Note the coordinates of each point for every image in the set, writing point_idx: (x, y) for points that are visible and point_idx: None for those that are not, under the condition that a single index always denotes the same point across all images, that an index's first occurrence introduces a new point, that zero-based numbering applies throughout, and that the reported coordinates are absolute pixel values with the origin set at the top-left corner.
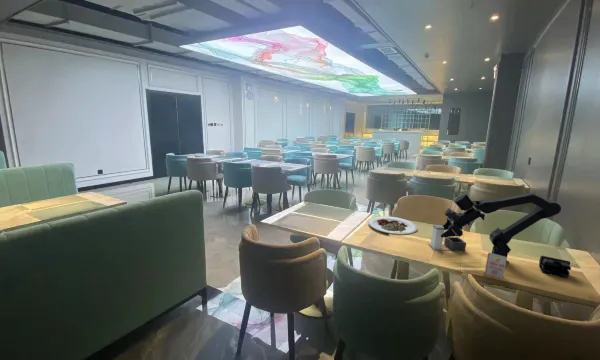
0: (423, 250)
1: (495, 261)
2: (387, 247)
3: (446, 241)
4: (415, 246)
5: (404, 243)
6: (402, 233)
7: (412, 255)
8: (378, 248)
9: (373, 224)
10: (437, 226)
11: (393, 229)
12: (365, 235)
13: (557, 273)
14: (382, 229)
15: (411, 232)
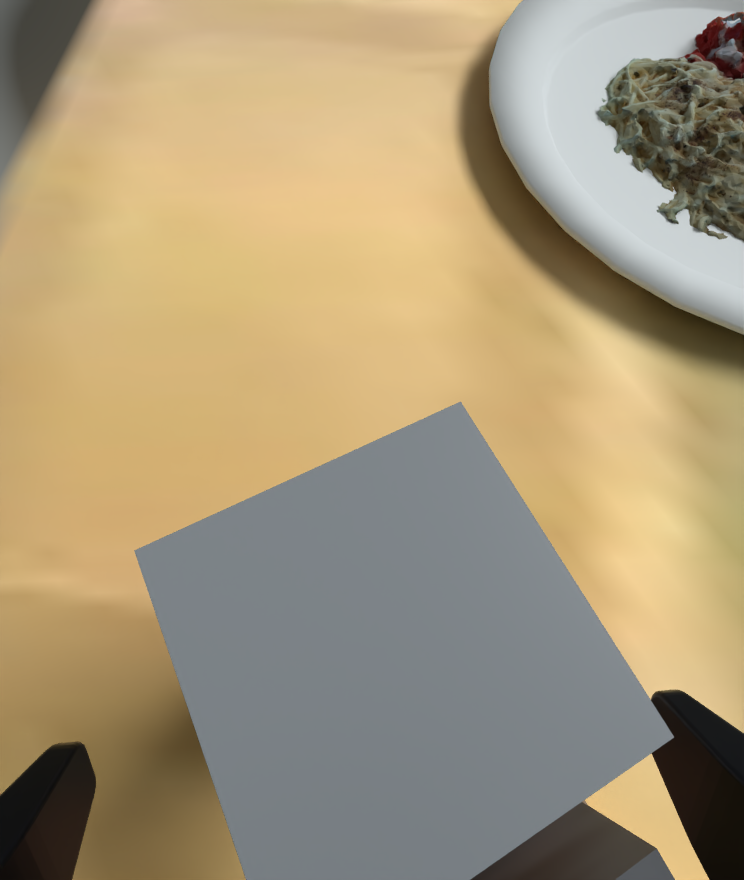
0: (226, 484)
1: None
2: (146, 147)
3: (549, 869)
4: (312, 386)
5: (340, 273)
6: (582, 217)
7: (13, 370)
8: (89, 90)
9: (650, 2)
10: (353, 577)
11: (652, 141)
12: None
13: None
14: (592, 74)
15: (689, 299)
